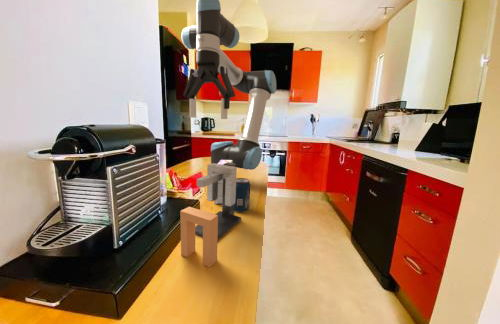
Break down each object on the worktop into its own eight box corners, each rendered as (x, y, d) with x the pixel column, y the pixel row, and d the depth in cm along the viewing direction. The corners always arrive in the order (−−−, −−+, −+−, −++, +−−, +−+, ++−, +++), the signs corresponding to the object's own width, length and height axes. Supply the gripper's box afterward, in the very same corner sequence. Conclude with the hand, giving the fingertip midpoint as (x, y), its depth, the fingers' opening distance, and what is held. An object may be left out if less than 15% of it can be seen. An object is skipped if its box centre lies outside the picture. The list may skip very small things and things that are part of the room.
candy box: (219, 192, 96) (220, 159, 93) (232, 193, 96) (233, 159, 93) (213, 204, 83) (214, 165, 80) (228, 205, 83) (229, 166, 80)
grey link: (212, 197, 69) (213, 163, 67) (235, 203, 65) (236, 167, 63) (207, 200, 66) (207, 164, 64) (230, 206, 62) (231, 168, 60)
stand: (219, 214, 74) (221, 161, 71) (241, 220, 71) (243, 164, 67) (187, 235, 60) (186, 170, 56) (212, 244, 56) (213, 175, 52)
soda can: (233, 205, 83) (234, 177, 81) (250, 206, 83) (251, 178, 80) (230, 212, 76) (231, 182, 74) (248, 213, 76) (249, 183, 73)
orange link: (189, 248, 54) (189, 206, 52) (217, 260, 50) (218, 215, 48) (181, 254, 51) (180, 210, 49) (209, 267, 47) (210, 220, 45)
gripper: (171, 52, 69) (173, 116, 73) (234, 44, 58) (232, 119, 62) (187, 59, 75) (188, 117, 79) (246, 52, 64) (244, 120, 69)
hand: (207, 118), depth 71 cm, fingers open, 13 cm apart
